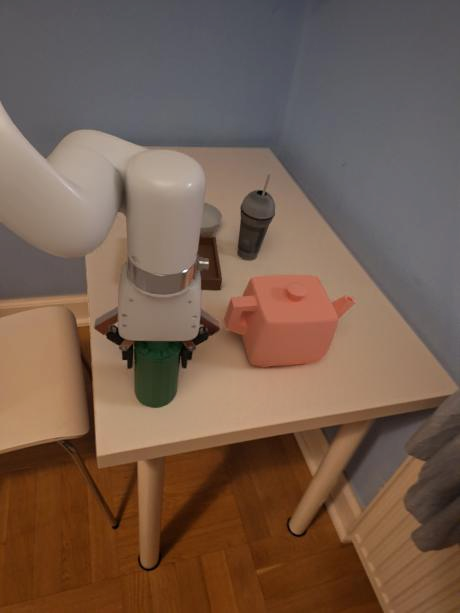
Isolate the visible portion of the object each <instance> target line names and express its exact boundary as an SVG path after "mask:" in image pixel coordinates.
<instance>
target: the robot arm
mask: <svg viewBox="0 0 460 613" xmlns="http://www.w3.org/2000/svg"><path fill="white" fill-rule="evenodd" d="M206 178H207V177H206V173H205V170H204V168H203V167H202V165H201V164H200V162H198V160H196V159H195V158H193V157H191V155H188V154H186V153H183V152H181V151H178V150H172V149H166V148H164V149H163V148H156V149H151V148H147V147H145V146H141V145H138V144H136V143H133V142H131V141H128V140H126V139H123V138H121V137H119V136H116V135H112V134H110V133H107V132H103V131H101V130H96V129H91V128H90V129H86V128H85V129H83V128H82V129H77V130H74V131H71V132H70V133H68V134H67V135H65V137H63V138H62V139H61V141H60V142H58V144H57V145H56V146H55V147H54V149H53V150H52V151H51V153H50V154H49V155H48V156H47V157H46V158H45V157H44V156H43V155H42V154H41V153H40V152H39V151H38V150H37V149H36V148H35V147H34V146H33V145H32V144H31V143H30V141H29V140H28V139H27V138H26V137H25V136H24V135H23V133H22V132H21V131H20V130H19V128H18V127H17V125H15V123H14V122H13V120H12V118H11V117H10V115H9V114H8V112H7V111H6V109H5V107H4V105H3V103H2V101H1V100H0V223H1V224H2V225H3V226H5V227H6V228H7V229H8V230H10V231H11V232H13V234H15V235H16V236H17V237H19V238H20V239H22V240H24V241H25V242H27V243H28V244H30V246H31V245H32V246H33V247H34V248H36V249H39V250H40V251H42V252H44V253H47V254H49V255H52V256H55V257H59V258H63V259H77V258H84V257H85V256H88V255H91V254H92V253H94V252H95V251H96V250H98V249H99V248H100V247H101V245H103V243H104V242H105V240H106V239H107V237H108V235H109V233H110V232H111V229H112V228H113V225H114V224H115V220H116V218H117V217H118V216H117V215H118V214H119V213H121V214H123V215H124V217H125V221H126V222H125V224H126V225H125V228H126V255H127V257H126V260H127V261H126V262H124V264H123V265H122V267H121V269H120V274H119V280H118V289H117V290H118V291H117V292H118V293H117V306H116V307H115V308H113V309H111V310H109V311H107V312H105V313H104V314H102V315H101V316H98V317H97V318H95V319H94V326H93V328H94V330H95V331H97V332H98V333H100V334H101V335H102V336H106V339H107V340H108V341H110V342H112V343H113V344H115V345H117V346H118V350H119V351H121V360H122V361H126V368H127V369H126V370H132V369H134V341H182V350H181V359H180V367H181V368H182V369H184V370H185V369H187V367H188V361H192V360H193V355H194V351H196V350H197V346H199V345H201V344H203V343H204V342H207V341H208V340H209V337H212V336H214V335H216V334H217V333H219V331H220V330H221V324H220V321H219V320H218V319H217V318H215V317H214V316H212V315H211V314H209V313H208V312H207V311H205V310H203V309H202V290H201V276H200V271H202V270H208V269H209V258H202V257H199V254H197V253H198V245H199V237H200V230H201V222H202V214H203V206H204V202H205V198H206V190H207V188H206V187H207V179H206ZM115 324H117V325H115Z"/></svg>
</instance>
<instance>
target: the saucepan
mask: <svg viewBox="0 0 460 613" xmlns="http://www.w3.org/2000/svg"><path fill="white" fill-rule="evenodd" d="M222 220H223V214H222V212H221V210H220V209H219V208H217V207H216V206H215V205H212V204H211V203H209V202H205V201H204V206H203V214H202V222H201V230H200V236H213V234H214V233H216V231H217V230H218V229H219V228H220V226H221V225H222V224H221V223H222Z"/></svg>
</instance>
